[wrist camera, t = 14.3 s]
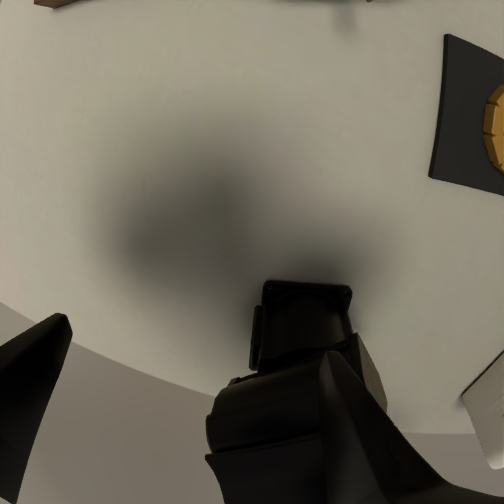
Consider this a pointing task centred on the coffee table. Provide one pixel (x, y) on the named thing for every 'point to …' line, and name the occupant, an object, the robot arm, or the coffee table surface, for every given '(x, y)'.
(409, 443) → the robot arm
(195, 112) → the coffee table surface
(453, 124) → the mat
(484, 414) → the photo printer
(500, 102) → the ring
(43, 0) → the peg stand
